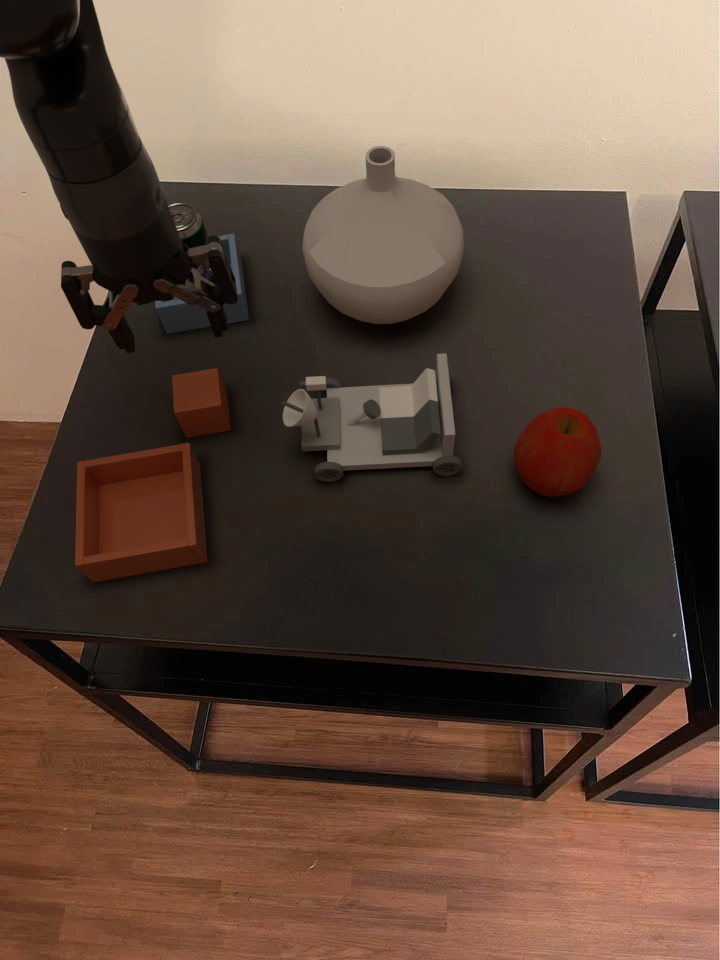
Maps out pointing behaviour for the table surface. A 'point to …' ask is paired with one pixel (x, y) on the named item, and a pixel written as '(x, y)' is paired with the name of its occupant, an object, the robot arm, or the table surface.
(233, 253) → the blue bin
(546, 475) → the apple
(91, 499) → the terracotta bin
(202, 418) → the block
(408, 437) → the toy car
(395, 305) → the vase
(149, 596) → the table surface
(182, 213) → the soda can
